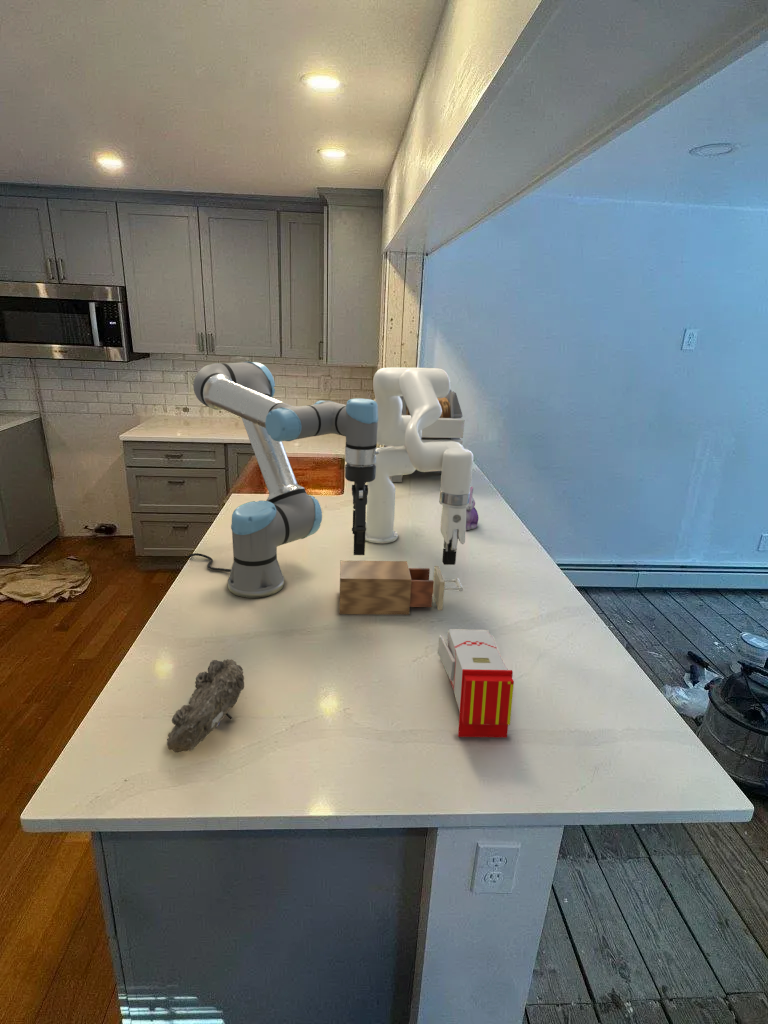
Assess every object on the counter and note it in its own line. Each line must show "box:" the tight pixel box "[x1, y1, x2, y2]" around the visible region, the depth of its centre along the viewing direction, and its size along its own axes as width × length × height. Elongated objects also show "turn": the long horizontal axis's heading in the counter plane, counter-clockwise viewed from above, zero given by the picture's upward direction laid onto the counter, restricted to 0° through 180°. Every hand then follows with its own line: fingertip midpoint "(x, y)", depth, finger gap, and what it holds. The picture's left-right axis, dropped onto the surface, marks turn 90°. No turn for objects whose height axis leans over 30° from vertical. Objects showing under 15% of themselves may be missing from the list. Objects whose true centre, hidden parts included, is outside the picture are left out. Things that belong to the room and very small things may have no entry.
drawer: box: [409, 565, 464, 611], centre depth 151 cm, size 22×10×8 cm, turn 94°
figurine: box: [466, 486, 480, 531], centre depth 207 cm, size 9×10×15 cm
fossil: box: [166, 658, 245, 754], centre depth 106 cm, size 22×10×15 cm
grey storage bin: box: [383, 389, 465, 483], centre depth 268 cm, size 34×33×41 cm
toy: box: [437, 628, 515, 738], centre depth 117 cm, size 12×13×30 cm
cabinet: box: [338, 559, 412, 616], centre depth 150 cm, size 18×11×10 cm, turn 94°
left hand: (358, 543), depth 146 cm, fingers open, 13 cm apart
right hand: (448, 563), depth 149 cm, fingers closed
